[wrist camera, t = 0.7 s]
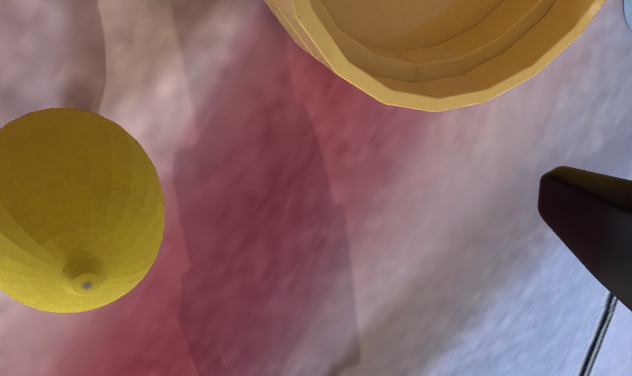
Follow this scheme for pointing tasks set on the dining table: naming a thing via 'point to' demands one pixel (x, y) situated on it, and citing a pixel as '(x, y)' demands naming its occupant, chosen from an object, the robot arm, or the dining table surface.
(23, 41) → the dining table surface
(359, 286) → the dining table surface
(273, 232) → the dining table surface
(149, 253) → the lemon
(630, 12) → the blue tumbler
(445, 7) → the bowl
